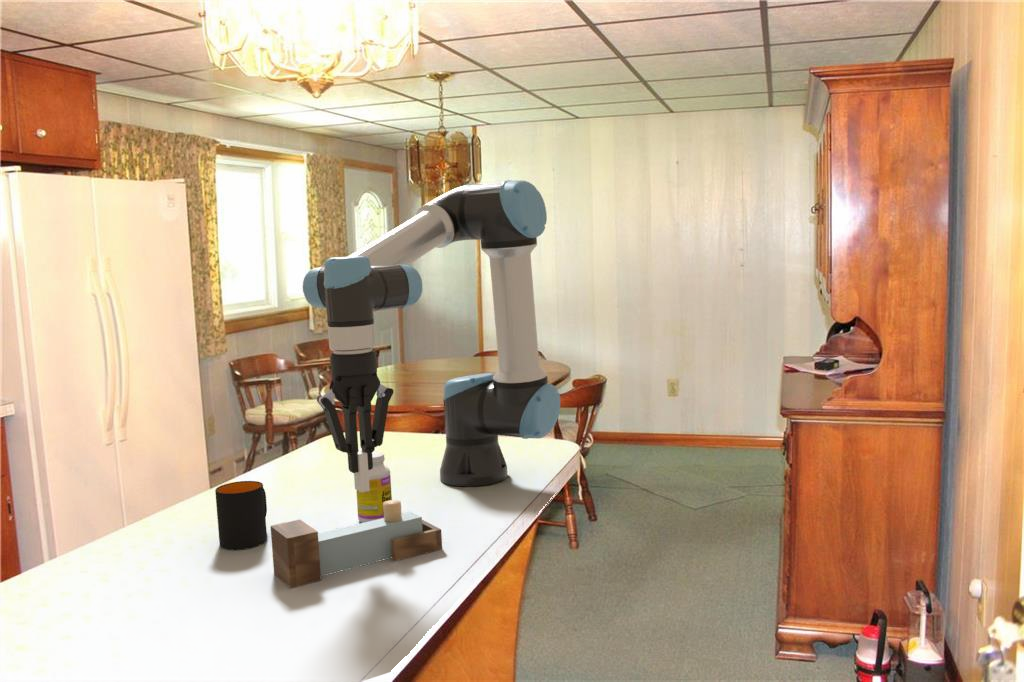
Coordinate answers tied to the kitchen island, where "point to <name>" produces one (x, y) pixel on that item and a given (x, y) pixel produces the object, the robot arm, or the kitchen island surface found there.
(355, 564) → the slat
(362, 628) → the kitchen island surface
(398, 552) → the brown wooden u-shaped frame
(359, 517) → the supplement bottle
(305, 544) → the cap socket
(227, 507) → the mug
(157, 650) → the kitchen island surface
